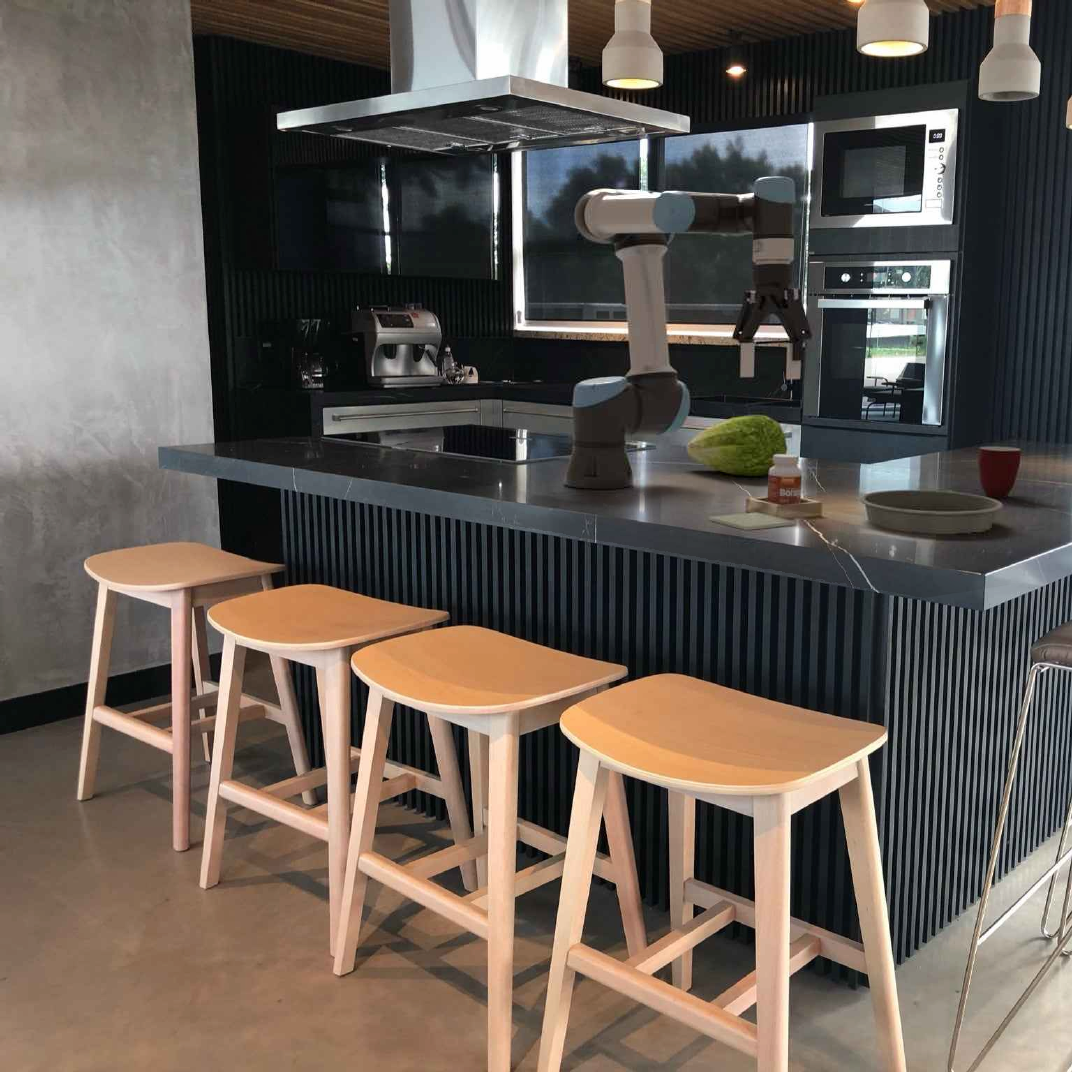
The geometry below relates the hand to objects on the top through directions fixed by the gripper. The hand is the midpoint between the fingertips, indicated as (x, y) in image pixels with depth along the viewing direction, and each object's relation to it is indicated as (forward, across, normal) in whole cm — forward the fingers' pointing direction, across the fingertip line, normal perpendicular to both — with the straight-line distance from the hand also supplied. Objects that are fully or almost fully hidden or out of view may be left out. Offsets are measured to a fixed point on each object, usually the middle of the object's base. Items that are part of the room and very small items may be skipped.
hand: (769, 378), depth 219 cm
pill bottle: (+26, +5, 0) cm, 26 cm away
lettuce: (+25, -44, +26) cm, 57 cm away
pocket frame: (+25, +5, 0) cm, 26 cm away
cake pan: (+26, +25, +17) cm, 40 cm away
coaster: (+25, +10, -12) cm, 30 cm away
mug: (+26, +9, +54) cm, 60 cm away
